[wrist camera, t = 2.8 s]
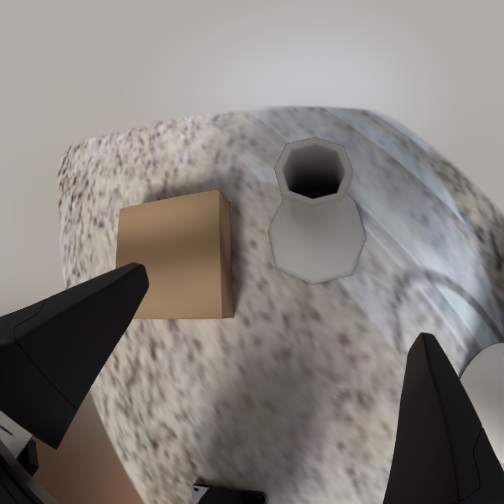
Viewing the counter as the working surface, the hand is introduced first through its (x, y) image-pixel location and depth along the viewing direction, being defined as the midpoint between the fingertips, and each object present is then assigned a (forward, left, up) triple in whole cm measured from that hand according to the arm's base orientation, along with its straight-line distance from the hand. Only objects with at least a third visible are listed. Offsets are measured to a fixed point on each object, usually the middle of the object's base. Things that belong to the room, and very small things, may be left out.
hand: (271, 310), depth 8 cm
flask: (+5, -2, -12) cm, 13 cm away
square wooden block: (+4, +9, -12) cm, 16 cm away
